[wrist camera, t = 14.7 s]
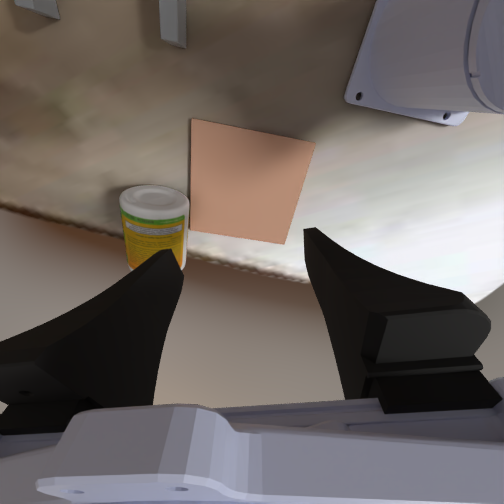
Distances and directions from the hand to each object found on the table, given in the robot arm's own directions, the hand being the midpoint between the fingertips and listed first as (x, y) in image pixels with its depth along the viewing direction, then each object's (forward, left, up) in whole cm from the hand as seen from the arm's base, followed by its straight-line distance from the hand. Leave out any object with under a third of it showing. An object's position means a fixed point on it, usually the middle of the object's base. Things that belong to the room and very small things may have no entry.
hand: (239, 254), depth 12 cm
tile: (0, 0, -10) cm, 10 cm away
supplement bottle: (+7, +1, -8) cm, 11 cm away
